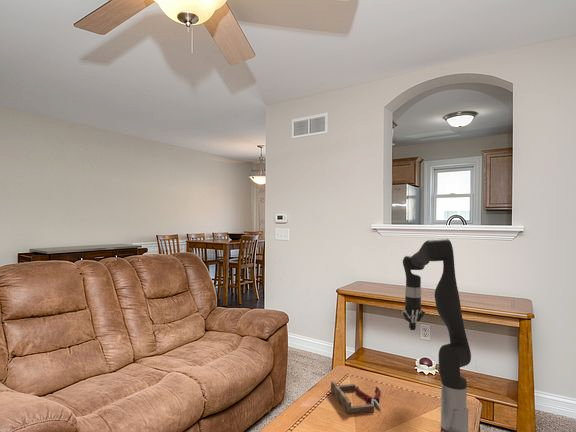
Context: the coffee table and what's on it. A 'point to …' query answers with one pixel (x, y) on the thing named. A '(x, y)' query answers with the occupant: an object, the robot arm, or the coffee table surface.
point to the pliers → (369, 398)
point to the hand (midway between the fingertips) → (412, 329)
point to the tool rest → (345, 402)
